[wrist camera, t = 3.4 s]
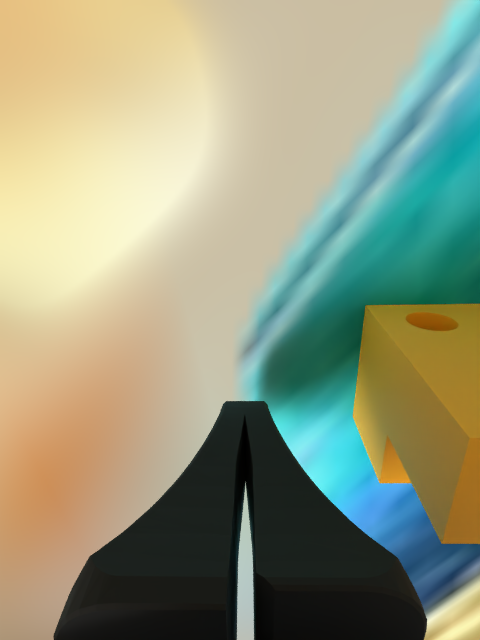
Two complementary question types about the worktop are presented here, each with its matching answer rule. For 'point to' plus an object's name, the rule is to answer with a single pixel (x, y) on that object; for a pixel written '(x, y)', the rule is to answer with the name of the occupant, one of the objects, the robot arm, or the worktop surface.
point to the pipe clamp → (425, 408)
